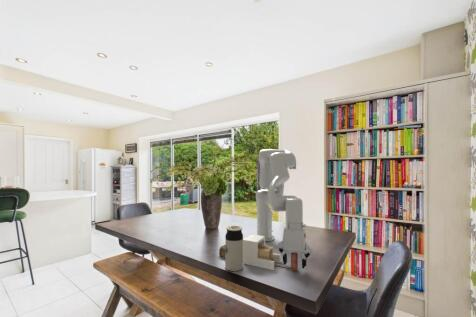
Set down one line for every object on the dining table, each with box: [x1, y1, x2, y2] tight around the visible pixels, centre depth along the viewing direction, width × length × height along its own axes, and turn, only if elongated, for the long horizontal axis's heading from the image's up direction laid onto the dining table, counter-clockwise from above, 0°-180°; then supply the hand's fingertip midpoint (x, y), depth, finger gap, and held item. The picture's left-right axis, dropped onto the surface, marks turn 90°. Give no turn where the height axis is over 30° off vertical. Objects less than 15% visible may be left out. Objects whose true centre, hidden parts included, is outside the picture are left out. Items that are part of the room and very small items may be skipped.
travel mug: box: [224, 225, 244, 272], centre depth 102 cm, size 8×8×18 cm
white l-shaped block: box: [243, 233, 282, 271], centre depth 108 cm, size 10×15×11 cm
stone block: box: [218, 244, 225, 259], centre depth 115 cm, size 6×12×5 cm, turn 53°
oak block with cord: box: [258, 245, 299, 272], centre depth 105 cm, size 6×20×7 cm, turn 62°
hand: (294, 265), depth 101 cm, fingers open, 7 cm apart
